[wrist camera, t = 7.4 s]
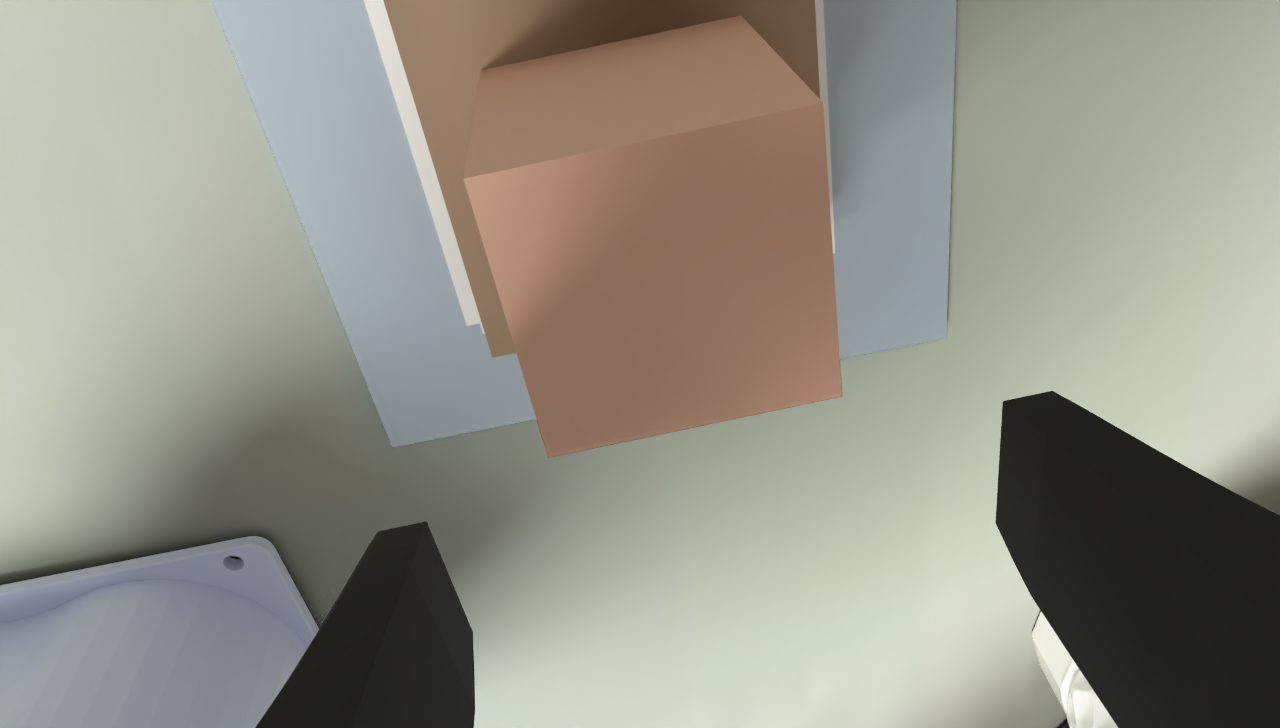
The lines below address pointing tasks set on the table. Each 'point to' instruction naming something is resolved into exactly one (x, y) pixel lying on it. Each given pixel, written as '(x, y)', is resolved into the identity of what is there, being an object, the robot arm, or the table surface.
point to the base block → (530, 29)
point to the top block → (658, 232)
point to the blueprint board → (423, 234)
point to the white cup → (1068, 680)
